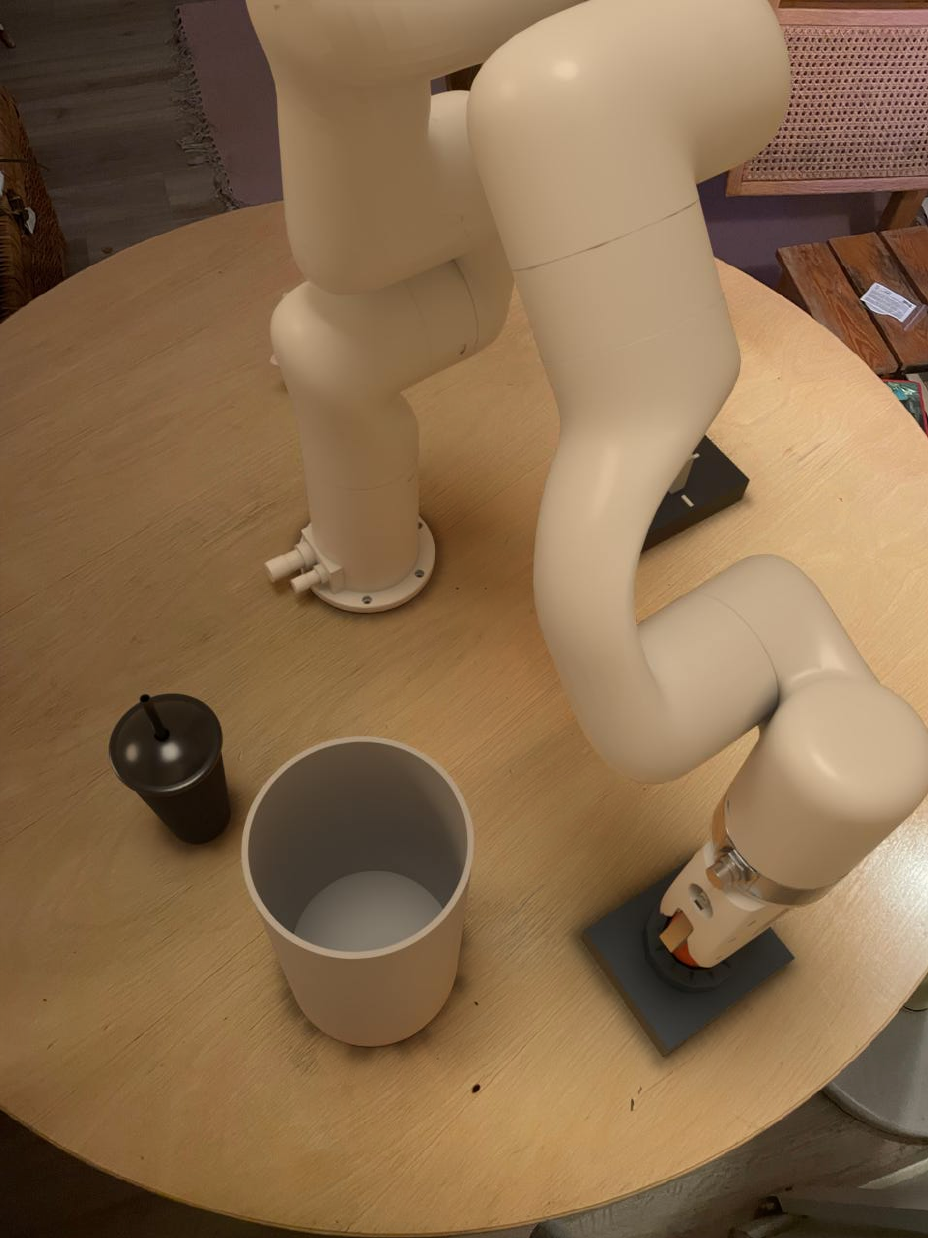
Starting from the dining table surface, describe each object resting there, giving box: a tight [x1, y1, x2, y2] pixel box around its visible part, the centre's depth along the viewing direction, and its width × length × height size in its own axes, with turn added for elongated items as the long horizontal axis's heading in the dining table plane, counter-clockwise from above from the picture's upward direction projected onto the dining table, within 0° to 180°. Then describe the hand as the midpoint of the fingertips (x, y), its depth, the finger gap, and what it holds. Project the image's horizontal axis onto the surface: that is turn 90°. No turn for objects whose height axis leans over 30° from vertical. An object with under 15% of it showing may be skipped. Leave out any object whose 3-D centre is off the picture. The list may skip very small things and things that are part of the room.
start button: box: [669, 911, 701, 967], centre depth 75 cm, size 4×4×2 cm
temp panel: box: [640, 434, 751, 555], centre depth 101 cm, size 14×10×3 cm
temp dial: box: [668, 454, 694, 494], centre depth 97 cm, size 5×2×5 cm, turn 33°
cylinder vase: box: [240, 735, 475, 1047], centre depth 67 cm, size 12×12×25 cm
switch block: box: [580, 857, 796, 1057], centre depth 77 cm, size 12×10×4 cm
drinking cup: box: [108, 692, 232, 845], centre depth 74 cm, size 8×8×20 cm
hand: (706, 928), depth 73 cm, fingers closed
